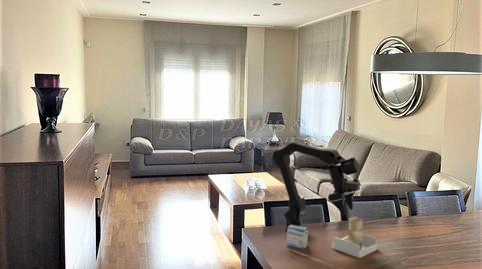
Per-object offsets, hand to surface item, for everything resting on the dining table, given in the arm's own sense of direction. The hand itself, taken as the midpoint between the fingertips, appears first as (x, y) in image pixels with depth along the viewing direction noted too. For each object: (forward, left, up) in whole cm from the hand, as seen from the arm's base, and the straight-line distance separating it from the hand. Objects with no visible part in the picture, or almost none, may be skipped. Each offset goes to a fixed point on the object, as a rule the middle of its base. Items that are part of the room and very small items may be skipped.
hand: (348, 212), depth 181 cm
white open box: (+4, -9, -13) cm, 17 cm away
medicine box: (-19, -15, -14) cm, 27 cm away
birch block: (+4, -9, -13) cm, 16 cm away
